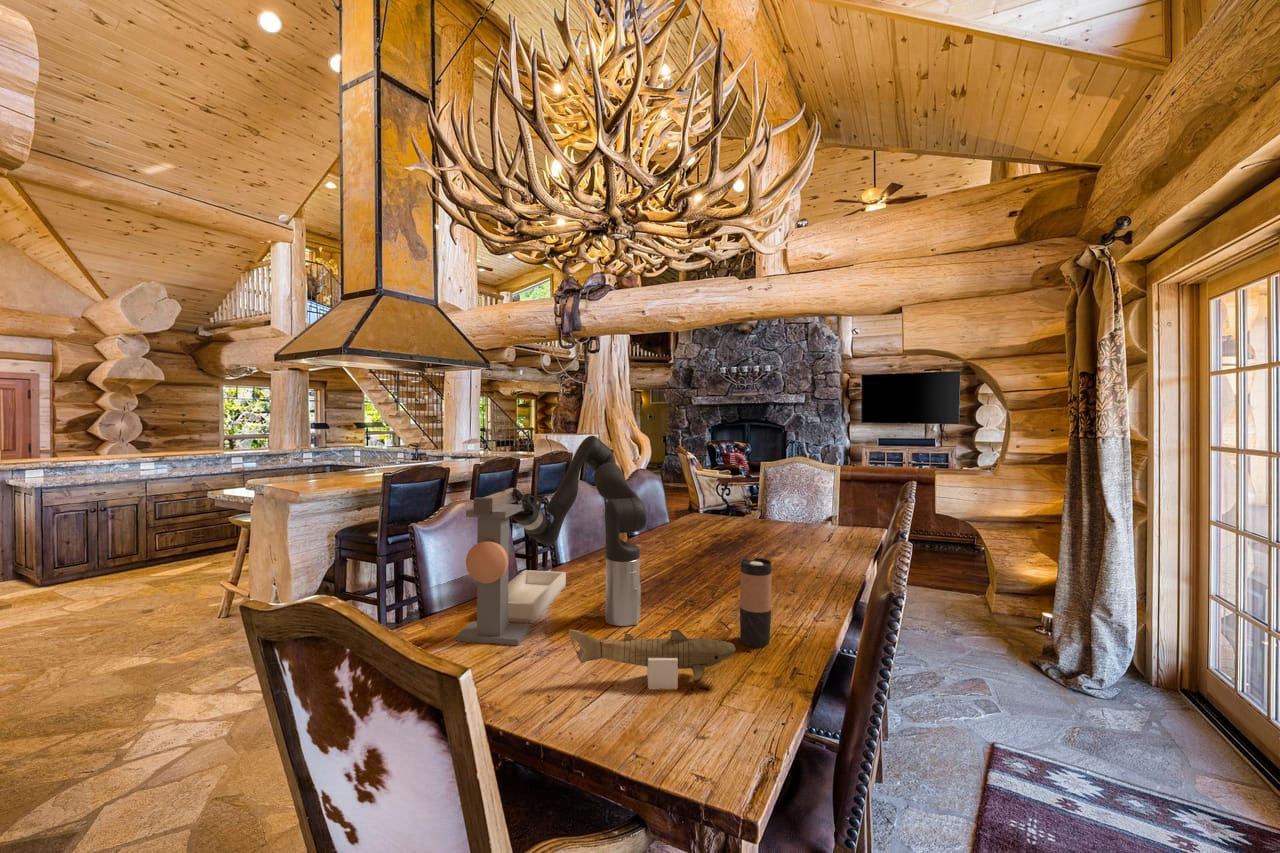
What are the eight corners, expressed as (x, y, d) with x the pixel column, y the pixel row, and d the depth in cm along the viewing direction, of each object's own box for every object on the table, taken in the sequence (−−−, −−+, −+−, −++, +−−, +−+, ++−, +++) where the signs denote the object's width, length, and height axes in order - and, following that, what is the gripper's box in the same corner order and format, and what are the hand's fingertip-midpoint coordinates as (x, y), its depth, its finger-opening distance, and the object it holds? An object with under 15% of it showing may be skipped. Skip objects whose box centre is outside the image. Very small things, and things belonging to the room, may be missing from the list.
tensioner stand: (532, 629, 137) (533, 505, 136) (516, 647, 126) (517, 512, 125) (474, 625, 139) (474, 503, 138) (453, 642, 128) (454, 510, 128)
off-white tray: (565, 587, 170) (565, 572, 170) (533, 623, 141) (534, 604, 141) (524, 585, 172) (524, 570, 172) (484, 619, 143) (484, 601, 143)
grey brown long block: (523, 500, 146) (523, 486, 146) (489, 515, 124) (489, 498, 124) (509, 499, 146) (509, 486, 146) (473, 514, 124) (473, 498, 124)
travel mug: (762, 651, 125) (764, 567, 125) (733, 642, 130) (734, 562, 129) (775, 640, 131) (776, 560, 131) (747, 632, 136) (748, 555, 136)
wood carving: (570, 671, 114) (570, 620, 114) (730, 671, 115) (731, 620, 115) (565, 693, 105) (565, 638, 105) (739, 693, 106) (739, 638, 106)
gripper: (507, 500, 157) (485, 477, 142) (552, 502, 155) (535, 479, 140) (502, 524, 154) (479, 503, 139) (548, 526, 152) (530, 505, 137)
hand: (507, 491), depth 140 cm, fingers closed on grey brown long block, 3 cm apart
